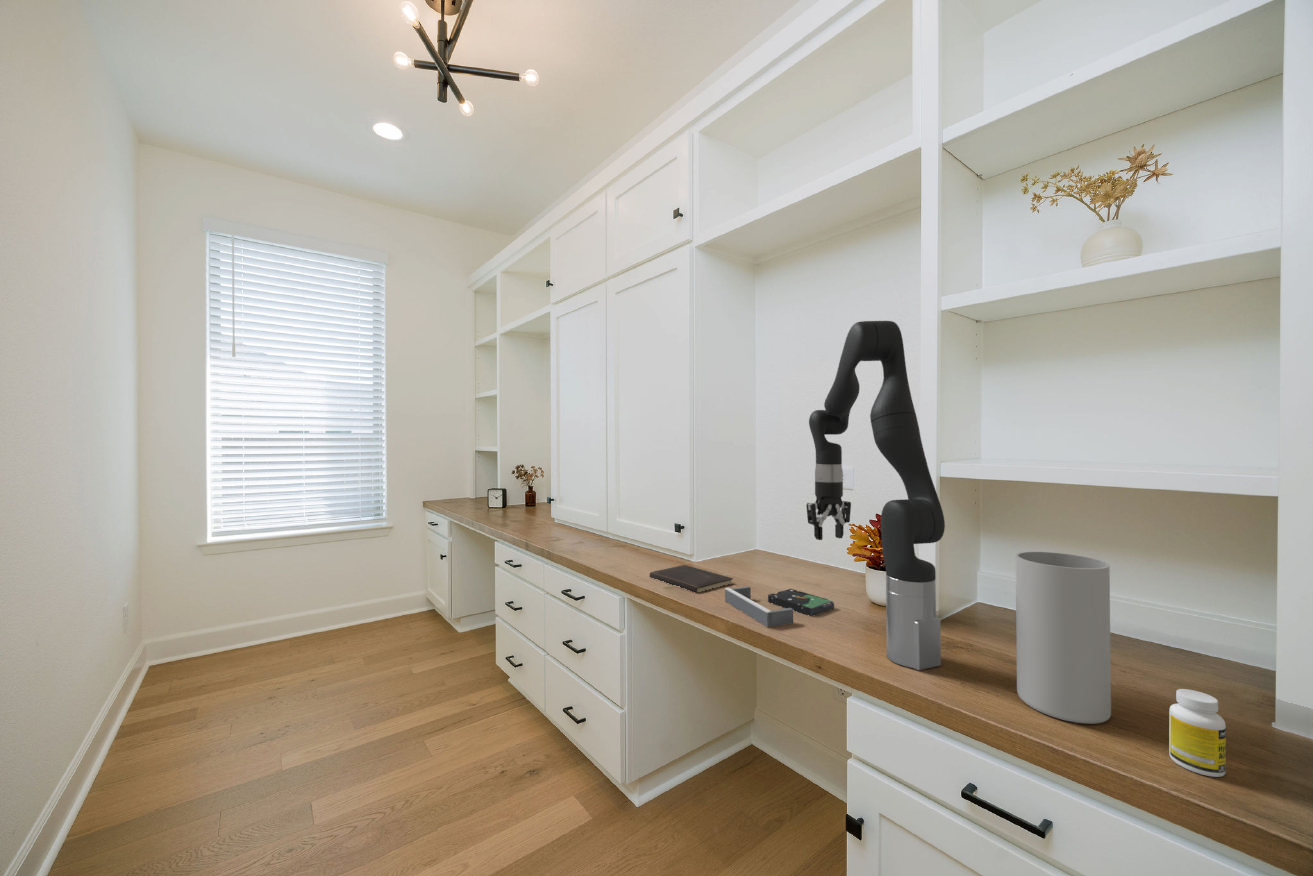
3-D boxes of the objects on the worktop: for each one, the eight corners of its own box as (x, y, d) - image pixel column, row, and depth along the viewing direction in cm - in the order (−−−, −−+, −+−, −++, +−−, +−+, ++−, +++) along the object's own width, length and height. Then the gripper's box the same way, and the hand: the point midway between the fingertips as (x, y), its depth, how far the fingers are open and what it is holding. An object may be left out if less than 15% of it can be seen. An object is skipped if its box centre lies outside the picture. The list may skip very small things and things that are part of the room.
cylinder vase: (1023, 681, 95) (1021, 548, 95) (1112, 704, 86) (1110, 559, 86) (1011, 706, 86) (1009, 560, 86) (1109, 736, 77) (1107, 573, 77)
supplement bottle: (1230, 784, 66) (1229, 710, 66) (1171, 766, 70) (1170, 696, 70) (1222, 764, 70) (1221, 694, 70) (1167, 748, 74) (1166, 682, 74)
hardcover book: (684, 571, 178) (684, 564, 178) (733, 585, 160) (732, 578, 160) (649, 579, 168) (649, 572, 168) (696, 595, 150) (696, 587, 150)
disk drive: (767, 604, 142) (812, 618, 130) (767, 594, 142) (811, 607, 130) (790, 597, 148) (835, 610, 136) (790, 588, 148) (834, 600, 136)
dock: (793, 623, 125) (793, 608, 125) (767, 627, 123) (767, 611, 123) (748, 598, 145) (748, 585, 145) (725, 601, 143) (725, 588, 143)
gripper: (816, 481, 137) (816, 543, 136) (858, 480, 142) (858, 539, 142) (799, 479, 144) (799, 538, 143) (839, 478, 149) (840, 534, 149)
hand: (829, 538), depth 143 cm, fingers open, 6 cm apart
